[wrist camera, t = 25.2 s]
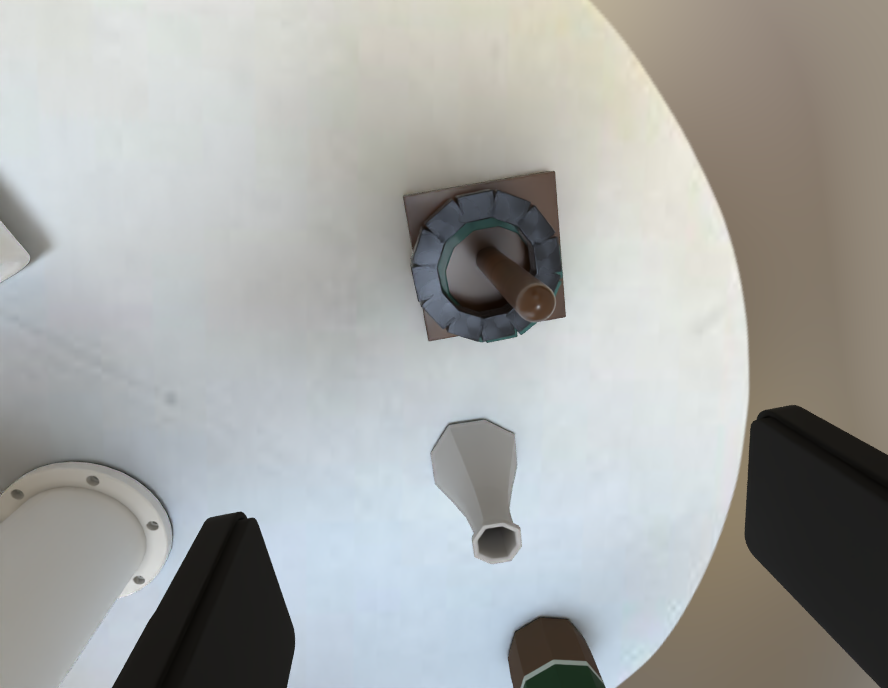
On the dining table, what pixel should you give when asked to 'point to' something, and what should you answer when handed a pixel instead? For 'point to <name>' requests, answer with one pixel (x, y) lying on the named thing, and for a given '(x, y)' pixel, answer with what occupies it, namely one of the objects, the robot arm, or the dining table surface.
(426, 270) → the graphite ring
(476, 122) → the dining table surface
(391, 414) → the dining table surface
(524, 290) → the stand
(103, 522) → the robot arm
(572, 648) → the beer bottle
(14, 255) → the mug
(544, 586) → the dining table surface
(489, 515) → the flask
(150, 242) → the dining table surface
